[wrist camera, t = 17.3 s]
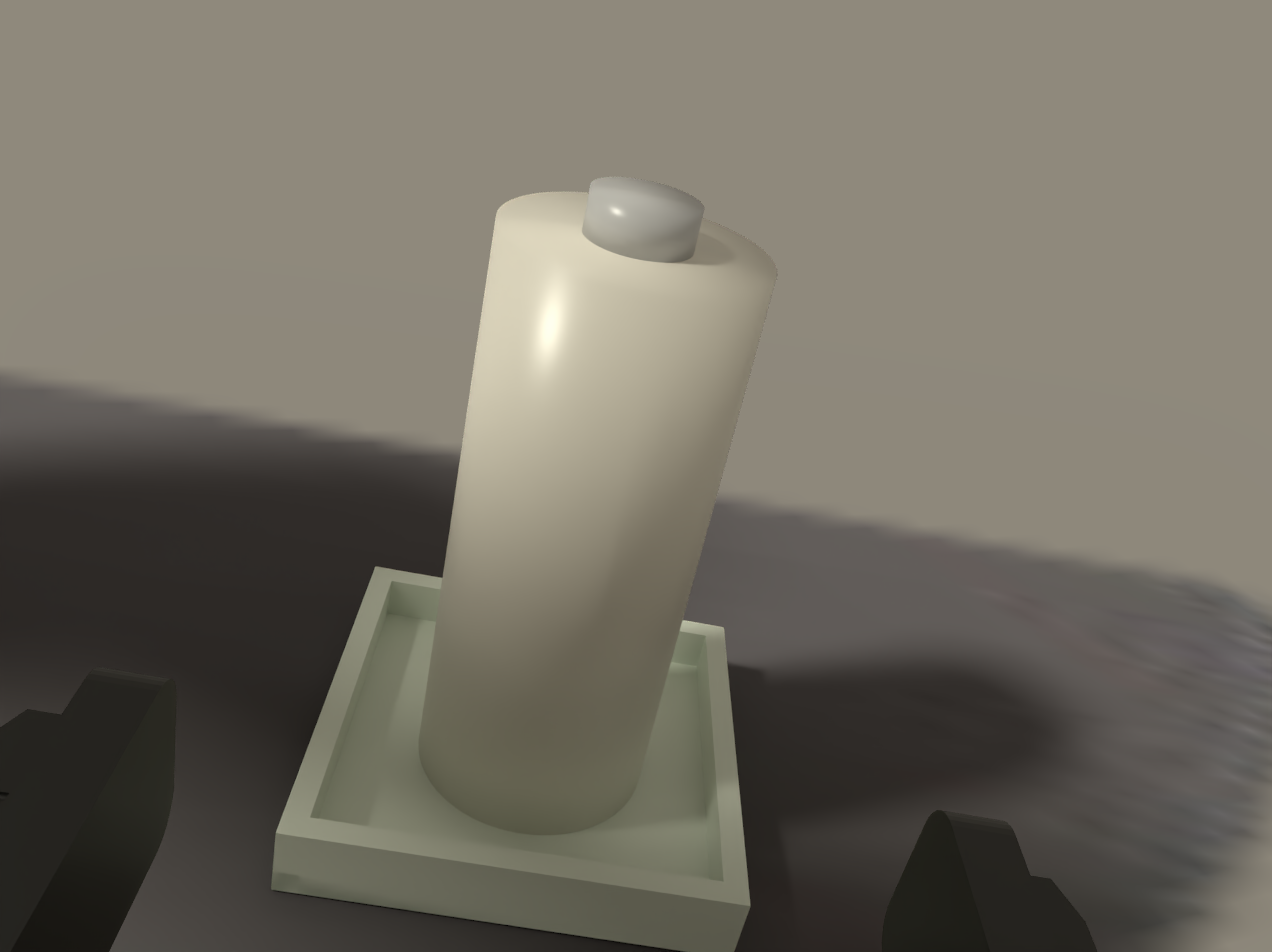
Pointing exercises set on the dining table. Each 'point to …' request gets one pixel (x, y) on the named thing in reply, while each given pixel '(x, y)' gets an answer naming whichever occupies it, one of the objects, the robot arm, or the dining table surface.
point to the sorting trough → (503, 860)
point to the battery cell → (584, 494)
